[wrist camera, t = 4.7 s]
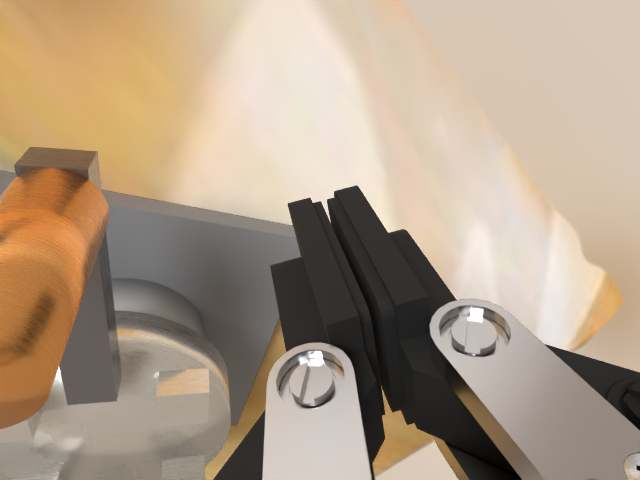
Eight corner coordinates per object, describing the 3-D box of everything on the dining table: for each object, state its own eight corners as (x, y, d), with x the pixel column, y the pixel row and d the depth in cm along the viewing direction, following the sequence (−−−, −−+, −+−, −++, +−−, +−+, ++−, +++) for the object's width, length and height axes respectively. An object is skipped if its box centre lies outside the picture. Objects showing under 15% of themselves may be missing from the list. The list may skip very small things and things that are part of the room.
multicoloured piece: (222, 442, 31) (232, 656, 21) (13, 466, 27) (-86, 736, 18) (249, 135, 19) (298, 318, 9) (-122, 102, 15) (-656, 349, 6)
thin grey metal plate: (-53, 160, 22) (-125, 219, 17) (305, 228, 29) (325, 282, 24) (-33, 406, 31) (-76, 489, 26) (235, 410, 39) (240, 476, 34)
